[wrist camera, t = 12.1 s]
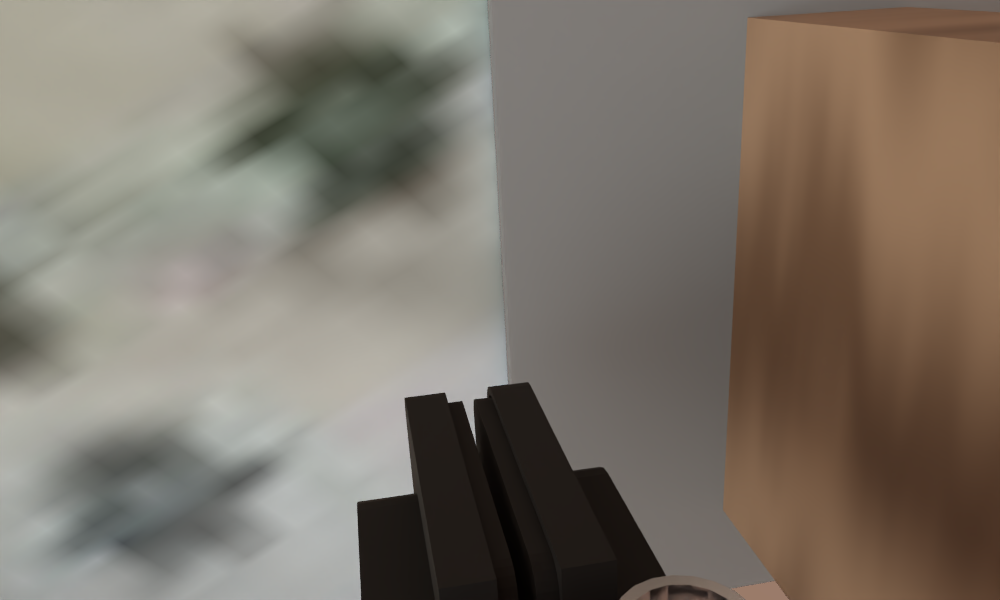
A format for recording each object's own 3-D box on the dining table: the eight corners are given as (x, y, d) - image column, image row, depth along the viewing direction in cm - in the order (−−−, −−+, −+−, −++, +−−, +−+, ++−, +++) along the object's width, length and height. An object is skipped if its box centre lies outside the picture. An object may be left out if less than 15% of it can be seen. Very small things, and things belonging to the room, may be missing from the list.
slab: (747, 17, 15) (1158, 58, 8) (909, 6, 15) (1444, 35, 8) (722, 509, 18) (984, 864, 11) (854, 489, 19) (1189, 816, 12)
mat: (482, -90, 14) (486, -91, 14) (1319, -128, 16) (1342, -131, 16) (520, 611, 19) (524, 624, 19) (1156, 502, 21) (1171, 511, 21)
